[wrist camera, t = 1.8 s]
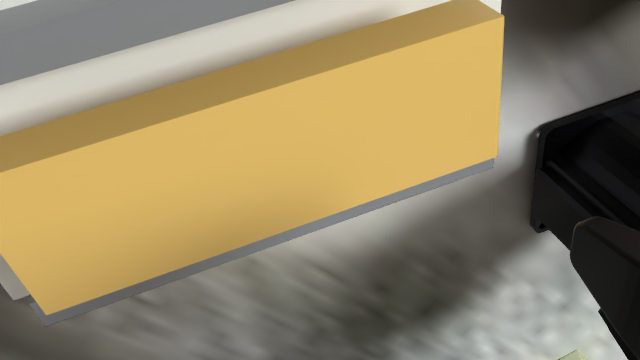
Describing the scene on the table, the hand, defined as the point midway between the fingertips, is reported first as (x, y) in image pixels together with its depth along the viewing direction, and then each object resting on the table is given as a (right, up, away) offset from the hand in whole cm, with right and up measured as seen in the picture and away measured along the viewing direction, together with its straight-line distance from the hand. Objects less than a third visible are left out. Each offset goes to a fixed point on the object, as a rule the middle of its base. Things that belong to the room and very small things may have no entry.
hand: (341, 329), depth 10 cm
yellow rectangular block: (-2, +4, +5) cm, 6 cm away
